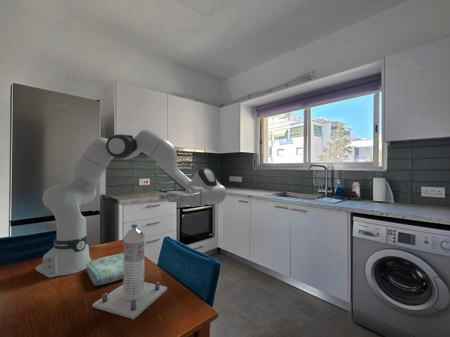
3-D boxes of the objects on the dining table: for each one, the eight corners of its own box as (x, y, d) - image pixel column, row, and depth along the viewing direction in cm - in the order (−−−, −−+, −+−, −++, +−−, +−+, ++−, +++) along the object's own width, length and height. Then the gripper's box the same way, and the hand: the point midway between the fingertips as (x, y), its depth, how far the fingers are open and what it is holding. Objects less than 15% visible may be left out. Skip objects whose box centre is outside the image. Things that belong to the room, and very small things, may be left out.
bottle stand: (92, 306, 70) (92, 296, 70) (131, 281, 86) (131, 272, 86) (133, 319, 64) (133, 307, 64) (166, 289, 80) (167, 280, 80)
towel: (127, 260, 108) (127, 249, 108) (143, 275, 92) (143, 263, 92) (84, 271, 96) (84, 259, 96) (94, 291, 80) (95, 277, 80)
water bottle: (137, 288, 79) (138, 221, 79) (148, 295, 75) (148, 224, 75) (119, 297, 74) (120, 224, 74) (129, 304, 70) (130, 228, 70)
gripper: (183, 187, 102) (155, 188, 93) (206, 190, 85) (174, 192, 77) (183, 200, 102) (154, 203, 93) (206, 206, 85) (174, 210, 77)
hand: (163, 198), depth 85 cm, fingers open, 8 cm apart
